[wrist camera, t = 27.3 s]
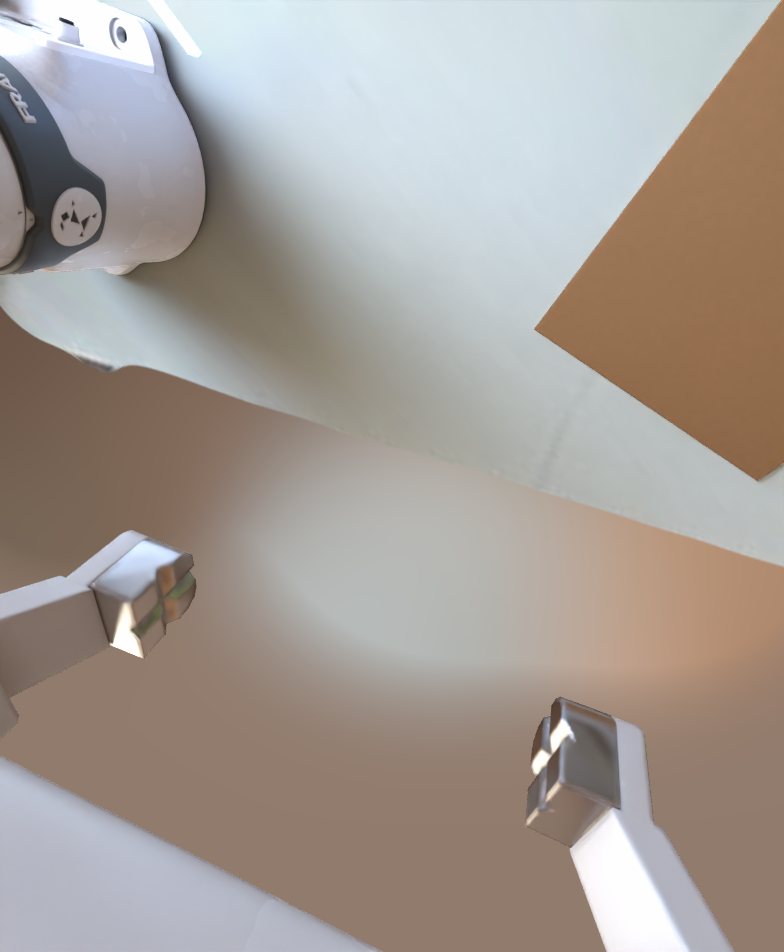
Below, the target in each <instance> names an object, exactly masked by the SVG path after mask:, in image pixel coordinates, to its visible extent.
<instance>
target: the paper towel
mask: <svg viewBox="0 0 784 952" xmlns="http://www.w3.org/2000/svg"><path fill="white" fill-rule="evenodd" d="M534 330H536V331H537V332H539V333H540V334H542V335H543V336H545V337H546V338H548V339H549V340H550V341H552V342H553V343H555V344H556V345H558V346H559V347H561V348H562V349H564V350H565V351H567V352H568V353H570V354H571V355H573V356H574V357H576V358H577V359H578V360H580V361H581V362H583V363H584V364H586V365H587V366H589V367H590V368H592V369H593V370H595V371H596V372H598V373H599V374H601V375H602V376H604V377H605V378H606V379H608V380H609V381H611V382H612V383H614V384H615V385H617V386H618V387H620V388H621V389H623V390H624V391H626V392H627V393H629V394H630V395H631V396H633V397H634V398H636V399H637V400H639V401H640V402H642V403H643V404H645V405H646V406H648V407H649V408H651V409H652V410H654V411H655V412H657V413H658V414H659V415H661V416H662V417H664V418H665V419H667V420H668V421H670V422H671V423H673V424H674V425H676V426H677V427H679V428H680V429H682V430H683V431H685V432H686V433H687V434H689V435H690V436H692V437H693V438H695V439H696V440H698V441H699V442H701V443H702V444H704V445H705V446H707V447H708V448H710V449H711V450H713V451H714V452H715V453H717V454H718V455H720V456H721V457H723V458H724V459H726V460H727V461H729V462H730V463H732V464H733V465H735V466H736V467H738V468H739V469H741V470H742V471H743V472H745V473H746V474H748V475H749V476H751V477H752V478H754V479H755V480H757V481H758V480H759V479H761V478H762V477H764V476H765V475H766V474H768V473H769V472H771V471H772V470H773V469H775V468H776V467H777V466H779V465H780V464H782V463H783V462H784V0H781V1H780V3H779V4H778V5H777V7H776V8H775V9H774V11H773V12H772V13H771V15H770V16H769V17H768V19H767V20H766V21H765V23H764V24H763V25H762V27H761V28H760V29H759V31H758V32H757V33H756V35H755V36H754V37H753V39H752V40H751V41H750V43H749V44H748V45H747V47H746V48H745V49H744V51H743V52H742V53H741V55H740V56H739V57H738V59H737V60H736V61H735V63H734V64H733V65H732V67H731V68H730V69H729V71H728V72H727V73H726V75H725V76H724V77H723V79H722V80H721V81H720V83H719V84H718V85H717V87H716V88H715V89H714V91H713V92H712V93H711V95H710V96H709V97H708V99H707V100H706V101H705V102H704V104H703V105H702V106H701V108H700V109H699V110H698V112H697V113H696V114H695V116H694V117H693V118H692V120H691V121H690V122H689V124H688V125H687V126H686V128H685V129H684V130H683V132H682V133H681V134H680V136H679V137H678V138H677V140H676V141H675V142H674V144H673V145H672V146H671V148H670V149H669V150H668V152H667V153H666V154H665V156H664V157H663V158H662V160H661V161H660V162H659V164H658V165H657V166H656V168H655V169H654V170H653V172H652V173H651V174H650V176H649V177H648V178H647V180H646V181H645V182H644V184H643V185H642V186H641V188H640V189H639V190H638V192H637V193H636V194H635V196H634V197H633V198H632V200H631V201H630V202H629V204H628V205H627V206H626V208H625V209H624V210H623V212H622V213H621V214H620V216H619V217H618V218H617V220H616V221H615V222H614V224H613V225H612V226H611V228H610V229H609V230H608V232H607V233H606V234H605V236H604V237H603V238H602V240H601V241H600V242H599V244H598V245H597V246H596V248H595V249H594V250H593V252H592V253H591V254H590V256H589V257H588V258H587V260H586V261H585V262H584V264H583V265H582V266H581V268H580V269H579V270H578V272H577V273H576V274H575V276H574V277H573V278H572V280H571V281H570V282H569V284H568V285H567V286H566V288H565V289H564V290H563V292H562V293H561V294H560V296H559V297H558V298H557V300H556V301H555V302H554V304H553V305H552V306H551V308H550V309H549V310H548V312H547V313H546V314H545V316H544V317H543V318H542V320H541V321H540V322H539V324H538V325H537V326H536V328H535V329H534Z"/></svg>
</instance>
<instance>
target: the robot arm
mask: <svg viewBox="0 0 784 952" xmlns="http://www.w3.org/2000/svg"><path fill="white" fill-rule="evenodd" d="M149 2H150V3H151V4H152V6H153V7H154V8H155V10H156V11H157V12H158V14H159V15H160V17H161V18H162V19H163V21H164V22H165V23H166V25H167V26H168V27H169V29H170V30H171V31H172V33H173V34H174V35H175V37H176V38H177V39H178V41H179V42H180V43H181V45H182V46H183V48H184V49H185V50H186V52H187V53H188V54H189V55H192V56H196V57H200V55H201V51H200V50H199V49H198V47H197V46H196V44H195V43H194V42H193V40H192V39H191V38H190V36H189V35H188V34H187V32H186V31H185V29H184V28H183V27H182V25H181V24H180V23H179V21H178V20H177V19H176V17H175V16H174V14H173V13H172V12H171V10H170V9H169V8H168V6H167V5H166V4H165V2H164V1H163V0H149ZM125 31H126V34H127V41H126V40H125V36H124V33H125ZM204 206H205V174H204V167H203V161H202V156H201V152H200V148H199V145H198V142H197V138H196V135H195V133H194V130H193V127H192V125H191V123H190V120H189V118H188V116H187V114H186V112H185V110H184V108H183V107H182V105H181V103H180V101H179V99H178V97H177V96H176V94H175V92H174V90H173V88H172V85H171V83H170V81H169V78H168V74H167V70H166V65H165V61H164V57H163V53H162V50H161V46H160V43H159V40H158V37H157V35H156V33H155V31H154V29H153V27H152V26H151V25H150V24H149V23H148V22H147V21H146V20H144V19H142V18H140V17H137V16H134V15H132V14H129V13H127V12H124V11H121V10H119V9H116V8H114V7H111V6H108V5H106V4H103V3H101V2H98V1H95V0H0V275H5V274H18V273H19V274H24V273H30V272H33V271H34V270H37V269H40V270H42V271H45V272H50V273H54V272H67V271H79V270H90V269H100V268H103V269H104V270H105V271H106V272H108V273H109V274H111V275H124V274H127V273H129V272H130V271H132V270H133V269H134V268H136V267H137V266H138V265H139V264H141V263H146V262H161V261H166V260H169V259H172V258H174V257H176V256H178V255H179V254H181V253H182V252H183V251H184V250H185V249H186V248H187V247H188V246H189V245H190V244H191V242H192V241H193V239H194V238H195V236H196V234H197V232H198V229H199V227H200V224H201V221H202V217H203V212H204ZM193 566H194V562H193V557H192V555H191V554H188V553H186V552H183V551H181V550H179V549H176V548H174V547H171V546H169V545H166V544H164V543H162V542H159V541H156V540H154V539H152V538H150V537H147V536H145V535H142V534H139V533H137V532H134V531H132V530H131V531H128V532H125V533H122V534H121V535H120V536H118V537H117V538H116V539H114V540H113V541H112V542H111V543H110V544H108V545H107V546H106V547H104V548H103V549H102V550H101V551H99V552H98V553H97V554H96V555H94V556H93V557H92V558H90V559H89V560H88V561H87V562H85V563H84V564H83V565H82V566H80V567H79V568H78V569H77V570H75V571H74V572H73V573H72V574H70V575H69V576H68V577H67V578H65V577H62V576H58V577H55V578H51V579H48V580H45V581H42V582H38V583H35V584H32V585H29V586H26V587H22V588H19V589H16V590H13V591H9V592H6V593H3V594H0V740H1V739H2V738H3V737H4V736H5V735H6V734H7V733H8V732H9V731H10V730H11V729H12V728H13V727H14V726H15V725H16V724H17V723H18V718H19V714H18V713H17V711H16V709H15V707H14V706H13V704H12V702H11V700H10V697H12V696H14V695H16V694H18V693H20V692H22V691H24V690H26V689H28V688H30V687H32V686H34V685H36V684H38V683H39V682H42V681H44V680H46V679H47V678H49V677H52V676H54V675H55V674H58V673H60V672H62V671H64V670H66V669H68V668H70V667H71V666H73V665H75V664H77V663H79V662H81V661H83V660H85V659H87V658H89V657H91V656H93V655H95V654H97V653H99V652H101V651H103V650H105V649H107V648H109V647H110V645H112V646H114V647H117V648H120V649H122V650H124V651H127V652H129V653H132V654H134V655H137V656H139V657H142V658H145V657H146V656H147V655H148V653H149V652H150V651H151V650H152V649H153V648H154V647H155V645H156V644H157V643H158V642H159V641H160V640H161V639H162V638H163V637H164V636H165V635H166V625H167V624H168V623H170V622H173V621H175V620H178V619H180V618H181V616H182V615H183V614H184V613H185V612H186V611H187V609H188V608H189V606H190V604H191V602H192V600H193V598H194V597H195V592H196V579H195V578H194V576H193V575H192V574H191V572H190V571H189V570H190V569H191V568H192V567H193ZM530 765H531V767H532V769H533V772H534V774H535V776H536V778H535V780H534V781H533V782H532V784H531V785H530V787H529V788H528V795H527V808H526V819H525V826H526V827H528V828H530V829H532V830H534V831H536V832H539V833H541V834H543V835H545V836H547V837H549V838H552V839H553V840H556V841H558V842H560V843H562V844H564V845H566V846H568V847H570V848H571V849H570V853H571V856H572V858H573V861H574V864H575V866H576V869H577V872H578V875H579V877H580V880H581V883H582V886H583V888H584V891H585V894H586V897H587V899H588V902H589V905H590V907H591V910H592V913H593V916H594V918H595V921H596V924H597V927H598V929H599V932H600V935H601V938H602V940H603V943H604V946H605V948H606V951H607V952H735V951H734V950H733V948H732V946H731V944H730V943H729V941H728V940H727V938H726V936H725V934H724V933H723V931H722V929H721V927H720V926H719V924H718V922H717V920H716V919H715V917H714V915H713V914H712V912H711V910H710V908H709V907H708V905H707V903H706V902H705V900H704V898H703V896H702V895H701V893H700V891H699V890H698V888H697V886H696V884H695V883H694V881H693V879H692V878H691V876H690V874H689V872H688V871H687V869H686V867H685V865H684V864H683V862H682V860H681V859H680V857H679V855H678V853H677V852H676V850H675V848H674V847H673V845H672V843H671V841H670V840H669V838H668V836H667V835H666V833H665V831H664V829H662V828H661V827H658V826H656V825H654V818H653V809H652V799H651V790H650V781H649V772H648V763H647V753H646V745H645V735H644V733H643V731H642V729H641V728H640V727H638V726H635V725H633V724H630V723H627V722H625V721H622V720H619V719H616V718H613V717H611V715H608V714H606V713H603V712H600V711H597V710H595V709H592V708H589V707H587V706H584V705H581V704H579V703H576V702H573V701H571V700H567V699H565V698H562V697H559V698H556V700H555V701H554V703H553V704H552V706H551V716H548V717H544V718H543V720H542V721H541V723H540V725H539V727H538V729H537V732H536V735H535V738H534V741H533V747H532V753H531V763H530ZM0 952H382V951H380V950H378V949H376V948H374V947H372V946H370V945H368V944H367V943H364V942H363V941H360V940H359V939H357V938H355V937H353V936H351V935H349V934H347V933H345V932H343V931H341V930H339V929H337V928H335V927H333V926H331V925H329V924H328V923H326V922H324V921H321V920H320V919H318V918H315V917H314V916H312V915H310V914H308V913H306V912H304V911H302V910H300V909H298V908H296V907H294V906H292V905H291V904H288V903H287V902H285V901H283V900H281V899H279V898H277V897H275V896H273V895H270V894H269V893H267V892H265V891H263V890H261V889H259V888H257V887H255V886H253V885H252V884H250V883H247V882H246V881H244V880H242V879H240V878H238V877H236V876H234V875H232V874H230V873H228V872H226V871H224V870H222V869H220V868H218V867H216V866H214V865H212V864H211V863H208V862H206V861H205V860H203V859H201V858H199V857H197V856H195V855H193V854H191V853H189V852H187V851H185V850H183V849H181V848H179V847H177V846H175V845H173V844H172V843H170V842H167V841H166V840H163V839H162V838H160V837H158V836H156V835H154V834H152V833H150V832H148V831H146V830H144V829H142V828H140V827H138V826H136V825H135V824H132V823H131V822H129V821H127V820H125V819H123V818H121V817H119V816H117V815H115V814H113V813H111V812H109V811H107V810H105V809H103V808H101V807H99V806H97V805H95V804H94V803H92V802H90V801H88V800H86V799H84V798H82V797H80V796H78V795H76V794H74V793H72V792H70V791H68V790H66V789H64V788H62V787H60V786H58V785H56V784H54V783H52V782H51V781H48V780H47V779H45V778H43V777H41V776H39V775H37V774H35V773H33V772H31V771H29V770H27V769H25V768H23V767H21V766H19V765H17V764H16V763H14V762H11V761H10V760H8V759H6V758H4V757H2V756H0Z"/></svg>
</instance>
